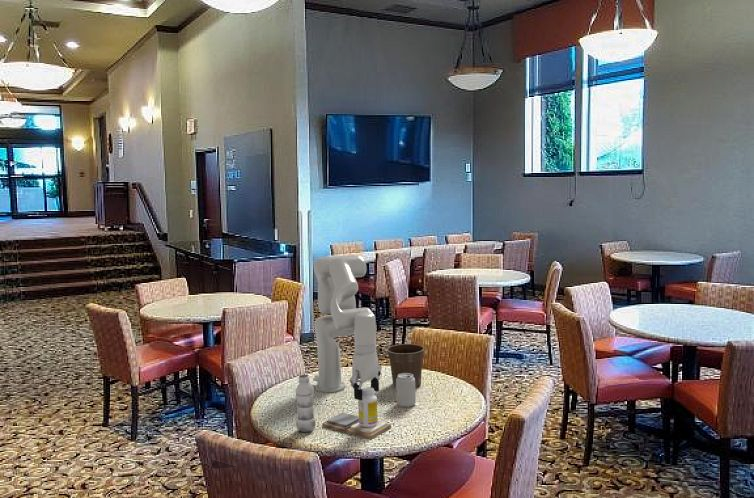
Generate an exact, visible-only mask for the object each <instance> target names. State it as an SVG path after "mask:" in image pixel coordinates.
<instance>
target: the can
mask: <svg viewBox="0 0 754 498" xmlns="http://www.w3.org/2000/svg"><path fill="white" fill-rule="evenodd" d="M395 389H396V394H395V395H396V404H397V405H398V406H399V407H401V408H412V407H414V405H415V404H416V403H417V402H416V401H417V400H416V388H415V378H414V377H413V374H410V373H402V374H399V375H398V377H397V378H396V387H395Z"/></svg>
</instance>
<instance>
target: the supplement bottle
mask: <svg viewBox="0 0 754 498" xmlns="http://www.w3.org/2000/svg"><path fill="white" fill-rule="evenodd" d="M361 389H362V400H357V402H358V407H357V408H358V416H359V424H360V425H361V426H363V427H373V426H375V425H377V423H378V420H379V419H378V397H377V396H376V394H374V393H375V391H374V388H372V387H371V386H364V387H363V386H362V387H361Z"/></svg>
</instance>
